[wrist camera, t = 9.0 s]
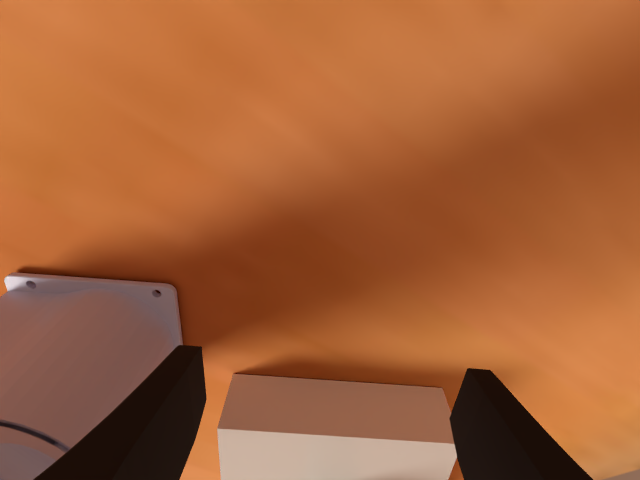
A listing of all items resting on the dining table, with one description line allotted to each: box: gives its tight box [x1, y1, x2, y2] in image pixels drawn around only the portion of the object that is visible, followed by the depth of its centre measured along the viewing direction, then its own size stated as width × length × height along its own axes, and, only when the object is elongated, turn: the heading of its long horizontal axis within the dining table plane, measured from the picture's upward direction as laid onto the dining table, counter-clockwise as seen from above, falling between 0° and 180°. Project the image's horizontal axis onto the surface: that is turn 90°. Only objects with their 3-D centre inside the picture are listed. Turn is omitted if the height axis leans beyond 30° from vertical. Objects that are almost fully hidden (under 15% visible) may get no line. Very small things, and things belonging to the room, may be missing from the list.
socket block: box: [217, 374, 457, 480], centre depth 26 cm, size 14×14×4 cm
